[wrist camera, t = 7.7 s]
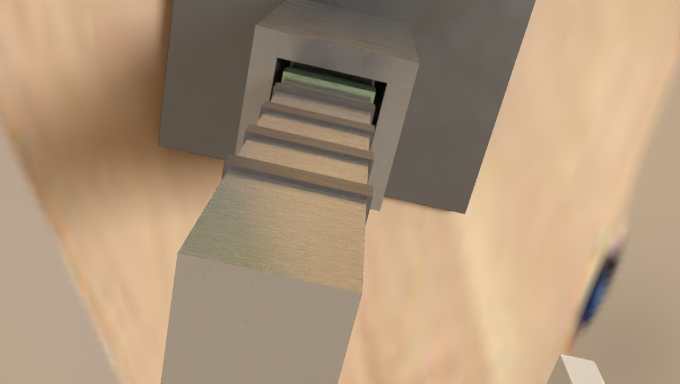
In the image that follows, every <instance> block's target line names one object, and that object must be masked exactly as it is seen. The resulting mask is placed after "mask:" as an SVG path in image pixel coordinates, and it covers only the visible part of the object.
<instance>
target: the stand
mask: <svg viewBox="0 0 680 384" xmlns="http://www.w3.org/2000/svg"><path fill="white" fill-rule="evenodd" d="M535 1H536V0H174V2H173V11H172V21H171V30H170V40H169V49H168V58H167V68H166V77H165V86H164V96H163V105H162V115H161V124H160V133H159V143H158V145H159V146H163V147H168V148H172V149H177V150H181V151H186V152H190V153H195V154H199V155H204V156H208V157H213V158H217V159H221V160H227V158H228V157H229V155H230V154H233V155H238V153H239V152H240V150H241V148H242V147H243V141H244V135H245V130H246V129H247V127H248V126H249V124H253V125H256V124H257V122H258V121H259V115H260V109H261V106H262V104H263V102H264V101H268V102H270V101H271V99H272V93H273V87H274V85H275V84H276V82H278V83H281V82H282V77H283V71H284V70H285V68H286V67H291V62H292V61H294V62H299V63H303V64H307V65H312V66H316V67H320V68H325V69H329V70H333V71H338V72H342V73H346V74H351V75H355V76H360V77H364V78H368V79H373V80H375V83H374V87H376V93H375V97H374V101H373V104H374V105H375V112H374V116H373V120H372V124H371V125H374V126H375V132H374V136H373V140H372V144H371V148H370V151H372V152H374V161H373V165H372V169H371V173H370V177H369V181H368V185H371V186H373V198H372V202H371V206H370V209H373V210H378V211H380V208H381V205H382V201H383V197H384V196H387V197H391V198H396V199H400V200H405V201H409V202H414V203H418V204H423V205H427V206H431V207H436V208H440V209H445V210H449V211H454V212H458V213H463V214H465V212H466V209H467V206H468V203H469V200H470V197H471V194H472V191H473V188H474V185H475V182H476V179H477V176H478V173H479V170H480V167H481V164H482V161H483V158H484V155H485V152H486V149H487V146H488V143H489V140H490V137H491V134H492V131H493V128H494V125H495V122H496V119H497V116H498V113H499V110H500V107H501V104H502V100H503V97H504V94H505V91H506V88H507V85H508V82H509V79H510V76H511V73H512V70H513V67H514V64H515V61H516V58H517V55H518V52H519V49H520V46H521V43H522V40H523V37H524V34H525V31H526V28H527V25H528V22H529V19H530V16H531V13H532V10H533V7H534V4H535Z"/></svg>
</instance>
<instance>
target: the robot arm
mask: <svg viewBox="0 0 680 384" xmlns="http://www.w3.org/2000/svg"><path fill="white" fill-rule="evenodd" d="M547 384H605V383H604V381H603V379H602V377H601V375H600V373H599V370H598V368H597V366H596V364H595V362H594V361H589V360H585V359H580V358H576V357H571V356H566V355H562V354H560V356H559V358H558V361H557V363H556V365H555V367H554V369H553V372H552V374H551V376H550V378H549V380H548V383H547Z"/></svg>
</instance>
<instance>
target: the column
mask: <svg viewBox="0 0 680 384" xmlns="http://www.w3.org/2000/svg"><path fill="white" fill-rule="evenodd" d="M374 83H375V80H373V79H368V78H364V77H360V76H355V75H351V74H346V73H342V72H338V71H333V70H329V69H325V68H320V67H316V66H312V65H307V64H303V63H299V62H294V61H292V62H291V67H286V68H285V70H284V71H283V77H282V82H281V83H278V82H276V84H275V85H274V87H273V93H272V99H271V101H270V102H268V101H264V102H263V104H262V106H261V109H260V115H259V121H258V122H257V124H256V125H253V124H249V126H248V127H247V129H246V130H245V135H244V141H243V147H242V148H241V150H240V152H239V153H238V155H233V154H230V155H229V157H228V158H227V160H226V161H225V163H224V168H223V175H222V181H221V183H220V185H219V186H218V188H217V189H216V191H215V193H214V194H213V196H212V198H211V199H210V201H209V203H208V204H207V206H206V207H205V209H204V211H203V212H202V214H201V216H200V217H199V219H198V221H197V222H196V224H195V225H194V227H193V229H192V230H191V232H190V234H189V235H188V237H187V239H186V240H185V242H184V244H183V245H182V247H181V248H180V250H179V252H178V254H177V262H176V270H175V278H174V285H173V293H172V301H171V308H170V316H169V324H168V332H167V339H166V347H165V355H164V363H163V370H162V378H161V384H337V383H338V380H339V376H340V372H341V369H342V365H343V361H344V358H345V354H346V350H347V347H348V343H349V339H350V336H351V332H352V328H353V325H354V321H355V317H356V314H357V310H358V306H359V303H360V299H361V295H362V285H363V264H364V243H365V225H366V221H367V217H368V214H369V210H370V206H371V202H372V198H373V186H371V185H368V181H369V177H370V173H371V169H372V165H373V161H374V152H372V151H370V148H371V144H372V140H373V136H374V132H375V126H374V125H371V124H372V120H373V116H374V112H375V105H374V104H373V101H374V97H375V93H376V87H374Z"/></svg>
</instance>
